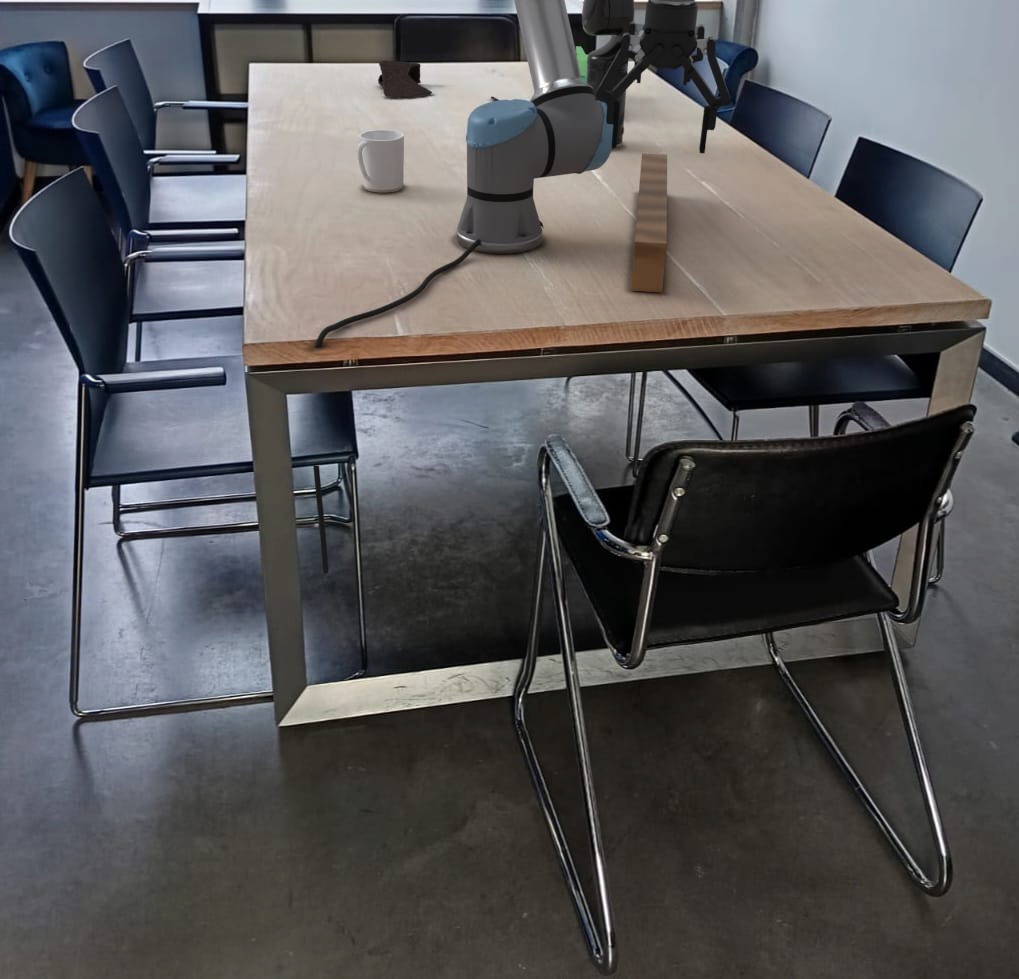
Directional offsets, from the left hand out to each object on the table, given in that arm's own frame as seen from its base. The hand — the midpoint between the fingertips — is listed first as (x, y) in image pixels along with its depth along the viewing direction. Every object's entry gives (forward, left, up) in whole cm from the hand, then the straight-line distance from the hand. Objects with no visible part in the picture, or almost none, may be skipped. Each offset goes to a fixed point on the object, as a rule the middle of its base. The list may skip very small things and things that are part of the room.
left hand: (657, 148), depth 170 cm
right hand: (+41, 0, +2) cm, 41 cm away
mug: (+41, +54, -21) cm, 72 cm away
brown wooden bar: (+21, 0, -21) cm, 30 cm away
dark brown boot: (+133, +69, -21) cm, 151 cm away
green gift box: (+128, +19, -21) cm, 132 cm away
